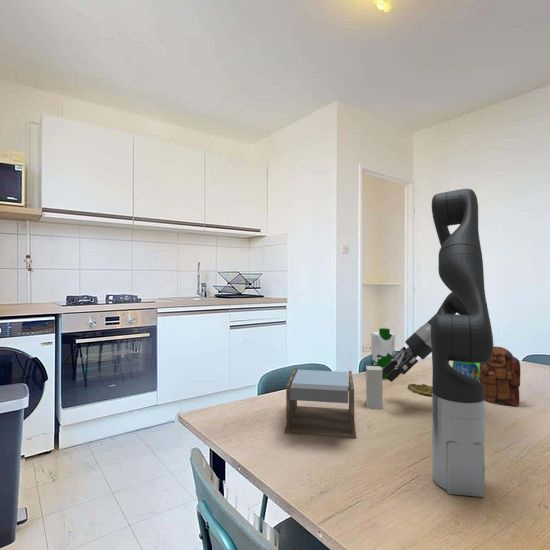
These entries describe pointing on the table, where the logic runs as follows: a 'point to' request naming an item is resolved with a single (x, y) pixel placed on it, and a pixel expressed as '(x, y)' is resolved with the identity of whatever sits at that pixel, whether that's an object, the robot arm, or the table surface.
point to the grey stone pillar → (374, 387)
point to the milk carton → (382, 348)
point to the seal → (421, 389)
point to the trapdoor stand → (320, 416)
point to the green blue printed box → (468, 369)
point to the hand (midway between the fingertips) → (386, 375)
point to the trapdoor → (320, 386)
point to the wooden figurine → (501, 378)
